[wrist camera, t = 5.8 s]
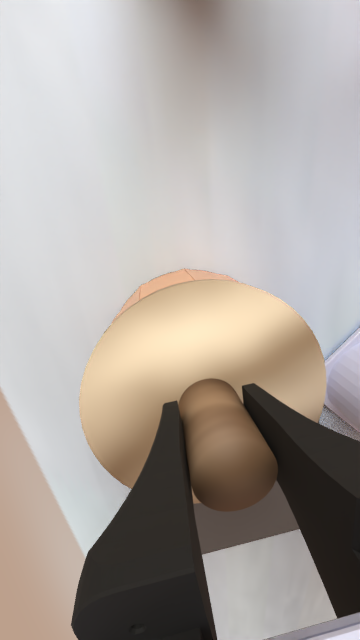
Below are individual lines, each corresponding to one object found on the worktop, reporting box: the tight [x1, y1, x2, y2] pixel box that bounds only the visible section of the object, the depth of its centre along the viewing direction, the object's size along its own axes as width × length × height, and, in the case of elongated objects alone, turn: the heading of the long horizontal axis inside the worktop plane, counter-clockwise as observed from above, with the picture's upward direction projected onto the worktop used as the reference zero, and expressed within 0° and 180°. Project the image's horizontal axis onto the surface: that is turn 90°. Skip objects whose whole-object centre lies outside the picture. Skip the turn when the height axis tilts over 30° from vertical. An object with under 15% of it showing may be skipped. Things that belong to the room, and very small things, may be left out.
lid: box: [79, 279, 326, 512], centre depth 12 cm, size 13×13×5 cm
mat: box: [193, 421, 319, 554], centre depth 24 cm, size 16×17×1 cm
